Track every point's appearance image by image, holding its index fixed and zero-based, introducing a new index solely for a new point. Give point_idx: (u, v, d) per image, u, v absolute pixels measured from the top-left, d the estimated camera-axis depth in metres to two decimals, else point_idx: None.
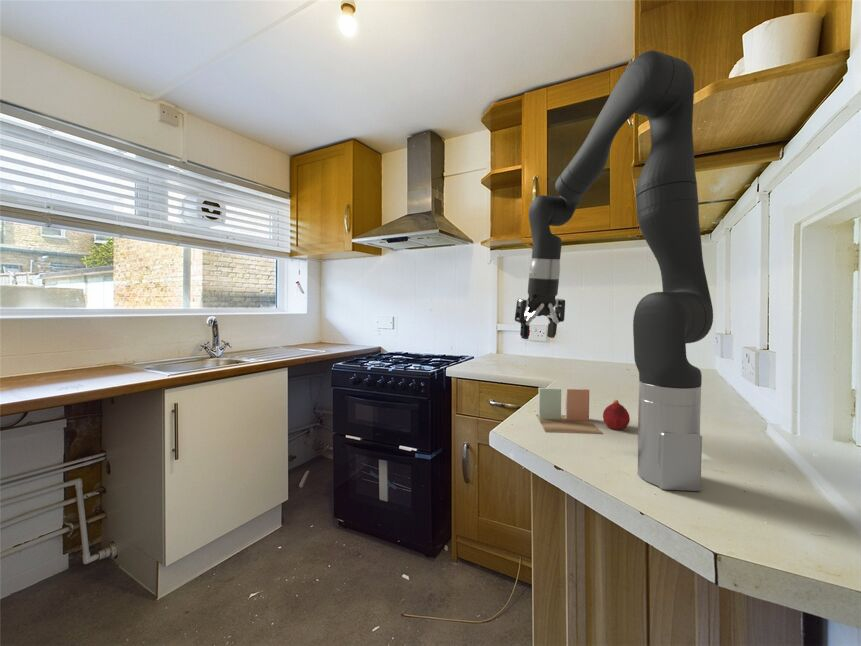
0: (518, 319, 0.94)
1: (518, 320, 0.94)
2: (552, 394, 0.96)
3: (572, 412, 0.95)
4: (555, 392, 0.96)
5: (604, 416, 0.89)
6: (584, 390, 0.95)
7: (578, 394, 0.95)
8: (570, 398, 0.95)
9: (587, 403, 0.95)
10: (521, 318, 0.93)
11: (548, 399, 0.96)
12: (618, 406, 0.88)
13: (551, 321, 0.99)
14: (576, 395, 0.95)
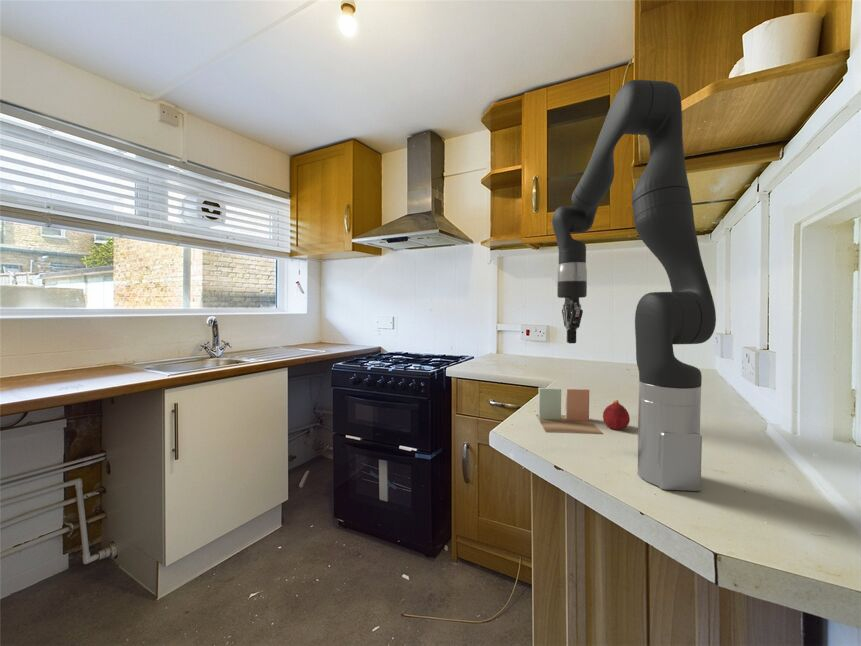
0: (576, 324, 0.98)
1: (576, 327, 0.98)
2: (552, 394, 0.96)
3: (572, 412, 0.95)
4: (555, 392, 0.96)
5: (604, 416, 0.89)
6: (584, 390, 0.95)
7: (578, 394, 0.95)
8: (570, 398, 0.95)
9: (587, 403, 0.95)
10: None
11: (548, 399, 0.96)
12: (618, 406, 0.88)
13: None
14: (576, 395, 0.95)
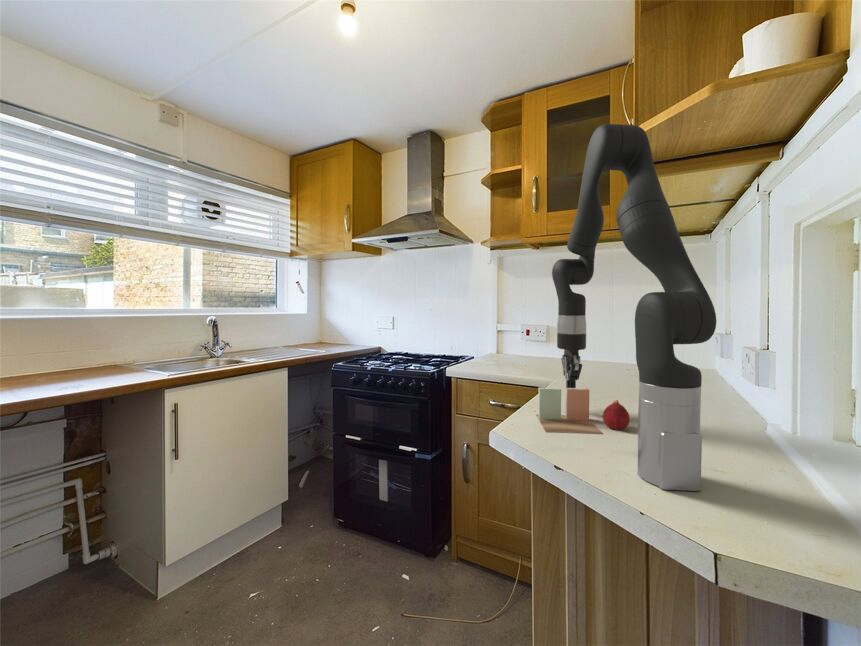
0: (575, 377, 0.99)
1: (575, 379, 0.99)
2: (552, 394, 0.96)
3: (572, 412, 0.95)
4: (555, 392, 0.96)
5: (604, 416, 0.89)
6: (584, 390, 0.95)
7: (578, 394, 0.95)
8: (570, 398, 0.95)
9: (587, 403, 0.95)
10: None
11: (548, 399, 0.96)
12: (618, 406, 0.88)
13: None
14: (576, 395, 0.95)
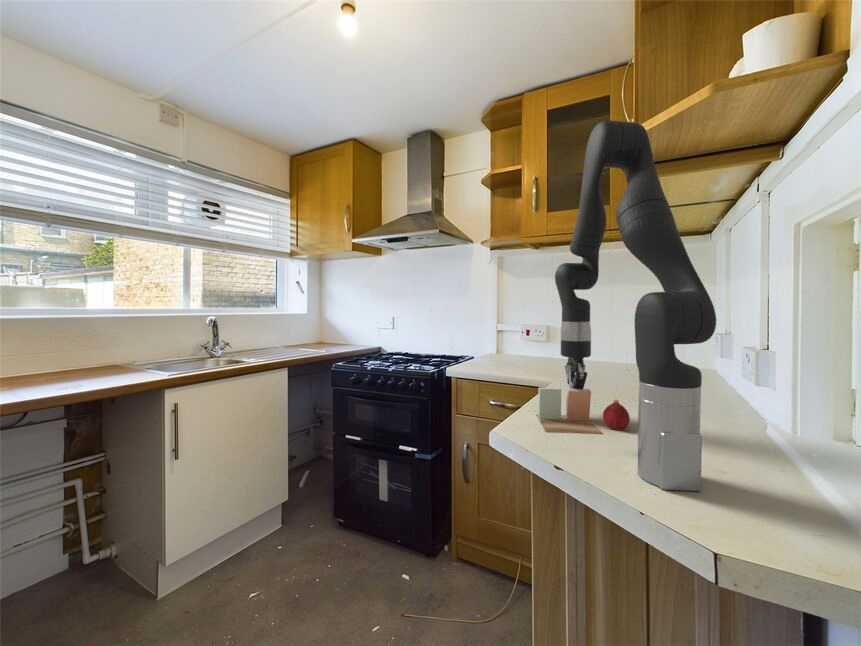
0: (580, 386, 0.95)
1: (580, 388, 0.95)
2: (552, 394, 0.96)
3: (572, 413, 0.95)
4: (555, 392, 0.96)
5: (604, 416, 0.89)
6: (586, 392, 0.94)
7: (579, 396, 0.94)
8: (571, 399, 0.94)
9: (588, 404, 0.94)
10: None
11: (548, 399, 0.96)
12: (618, 406, 0.88)
13: None
14: (577, 397, 0.94)
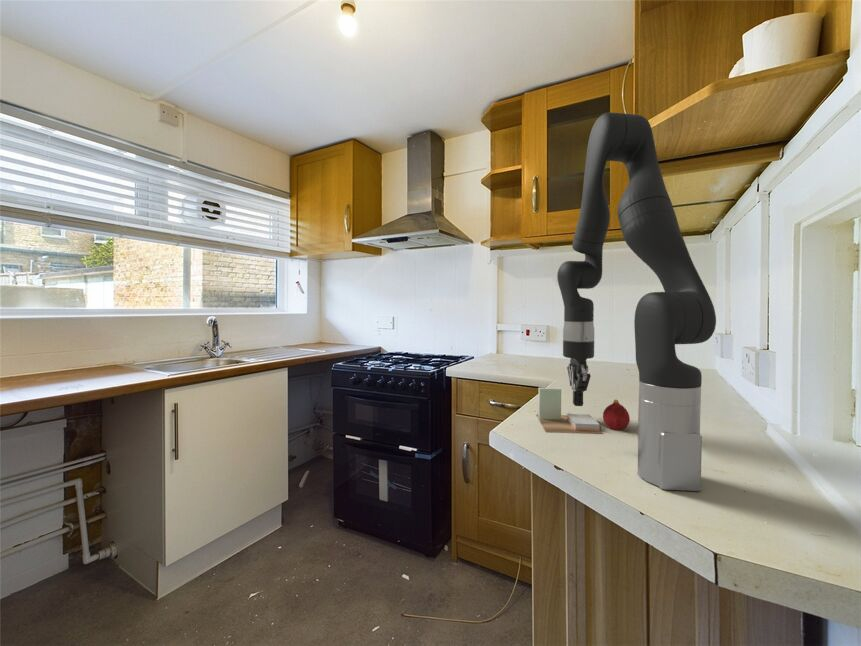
0: (583, 388, 0.92)
1: (583, 390, 0.92)
2: (552, 394, 0.96)
3: None
4: (555, 392, 0.96)
5: (604, 416, 0.89)
6: None
7: None
8: None
9: None
10: None
11: (548, 399, 0.96)
12: (618, 406, 0.88)
13: None
14: None
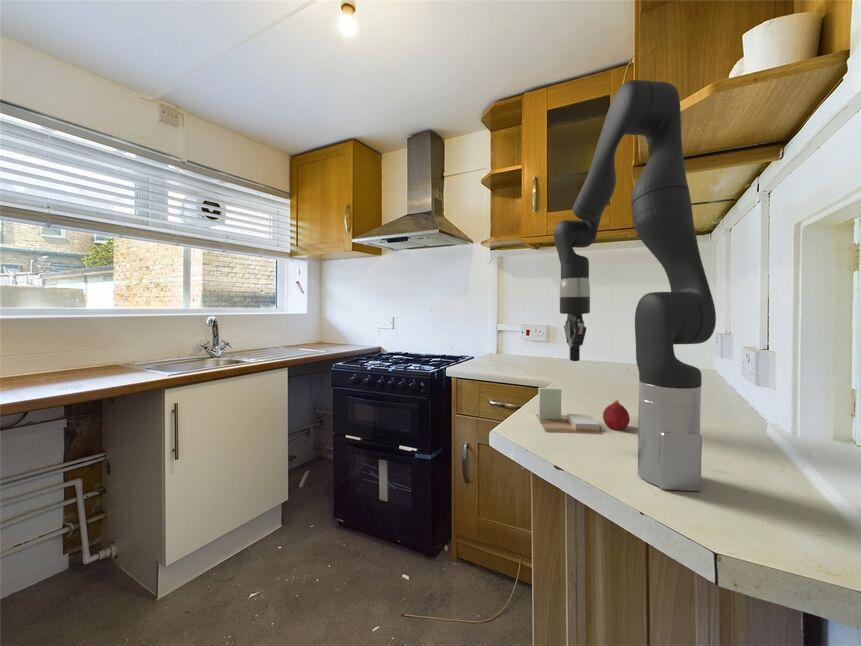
0: (579, 342, 0.95)
1: (579, 344, 0.95)
2: (552, 394, 0.96)
3: None
4: (555, 392, 0.96)
5: (604, 416, 0.89)
6: None
7: None
8: None
9: None
10: None
11: (548, 399, 0.96)
12: (618, 406, 0.88)
13: None
14: None
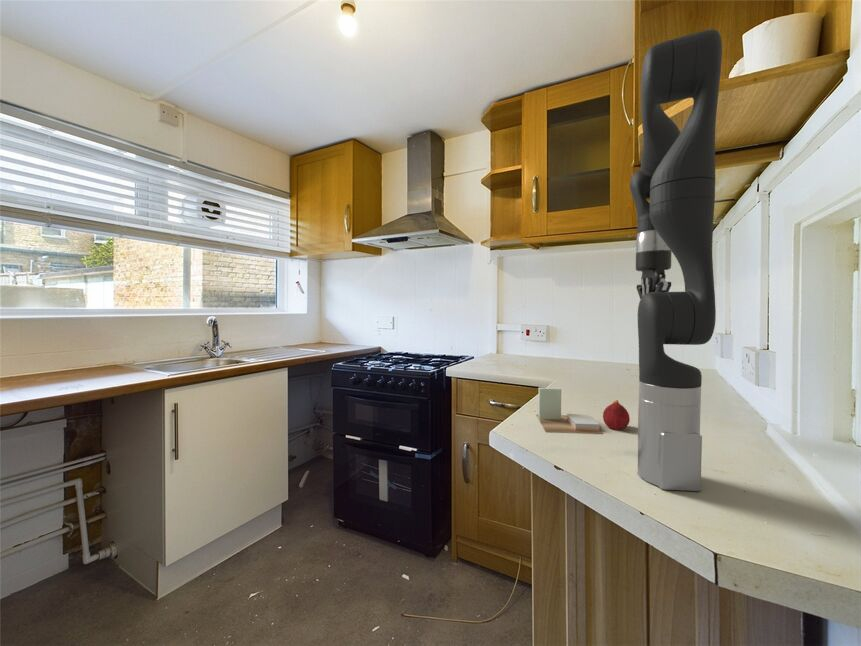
0: None
1: None
2: (552, 394, 0.96)
3: None
4: (555, 392, 0.96)
5: (604, 416, 0.89)
6: None
7: None
8: None
9: None
10: None
11: (548, 399, 0.96)
12: (618, 406, 0.88)
13: None
14: None
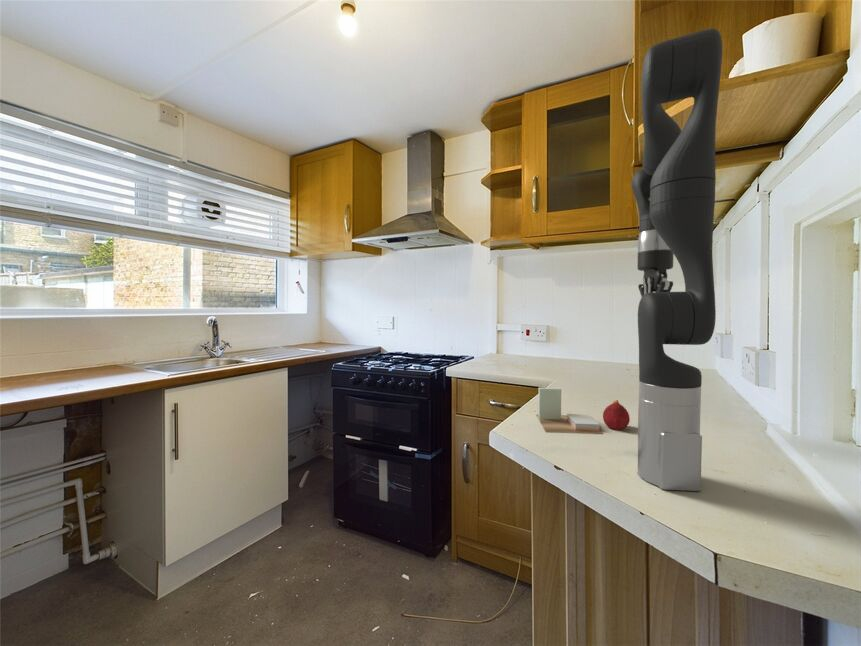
0: None
1: None
2: (552, 394, 0.96)
3: None
4: (555, 392, 0.96)
5: (604, 416, 0.89)
6: None
7: None
8: None
9: None
10: None
11: (548, 399, 0.96)
12: (618, 406, 0.88)
13: None
14: None
